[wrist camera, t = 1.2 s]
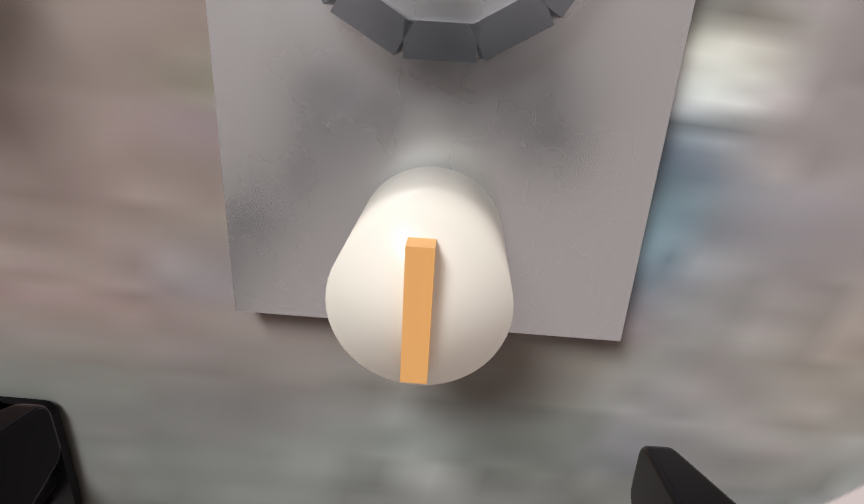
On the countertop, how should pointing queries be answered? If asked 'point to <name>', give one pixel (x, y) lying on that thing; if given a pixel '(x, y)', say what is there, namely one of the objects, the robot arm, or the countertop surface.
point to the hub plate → (447, 136)
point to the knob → (423, 280)
